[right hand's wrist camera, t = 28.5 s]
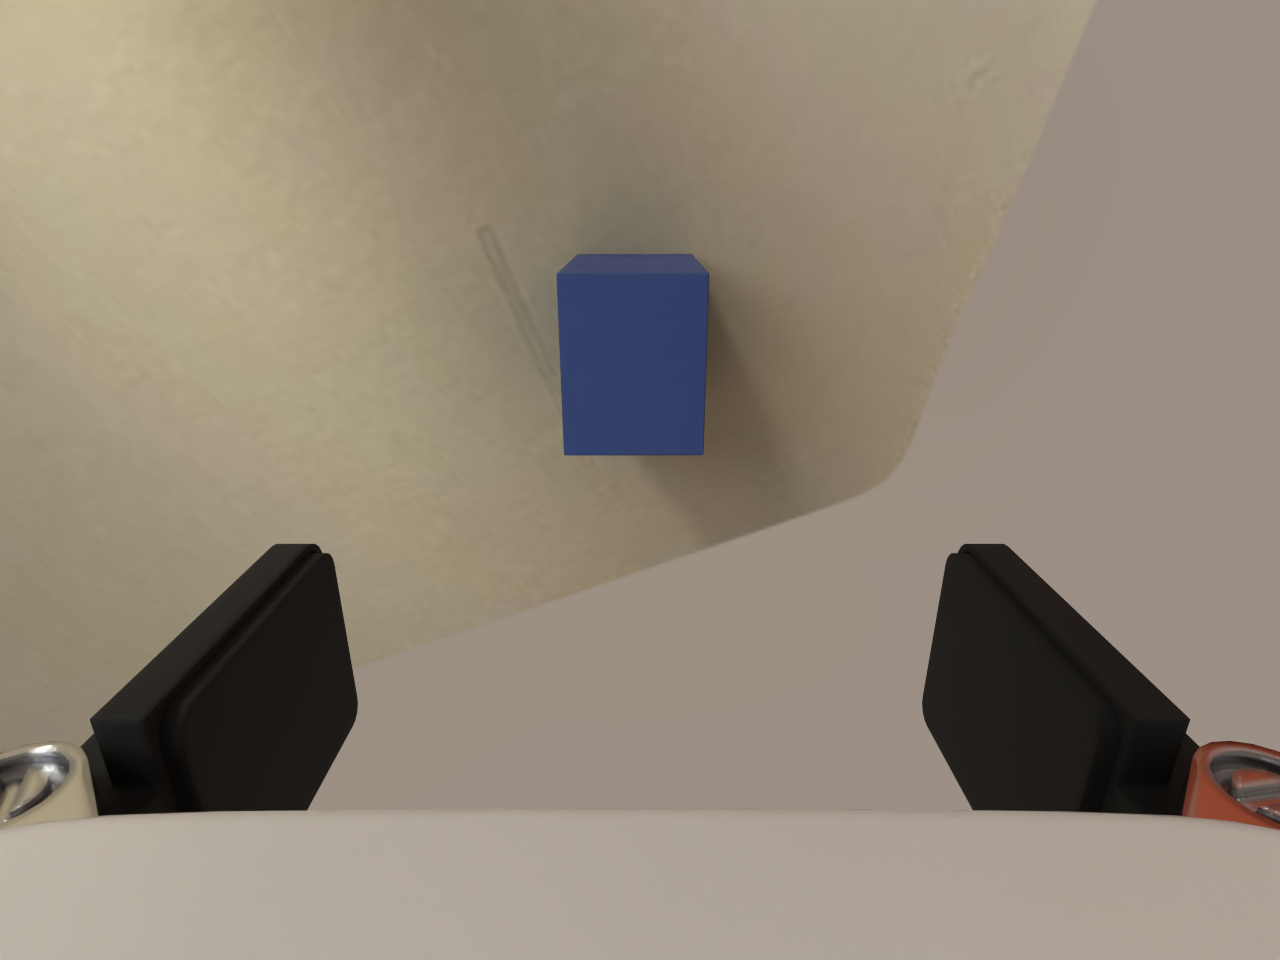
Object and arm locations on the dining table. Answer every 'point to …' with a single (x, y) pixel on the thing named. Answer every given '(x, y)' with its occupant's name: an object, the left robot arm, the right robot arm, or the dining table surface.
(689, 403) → the brick
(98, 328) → the dining table surface
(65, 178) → the dining table surface
